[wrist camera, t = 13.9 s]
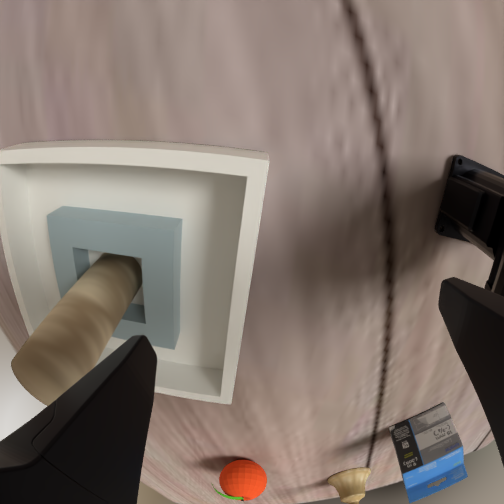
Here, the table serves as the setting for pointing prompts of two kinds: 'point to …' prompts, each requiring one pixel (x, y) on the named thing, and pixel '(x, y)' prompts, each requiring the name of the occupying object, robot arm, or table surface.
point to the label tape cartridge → (428, 452)
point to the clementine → (242, 480)
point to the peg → (77, 328)
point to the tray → (149, 190)
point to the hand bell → (350, 484)
